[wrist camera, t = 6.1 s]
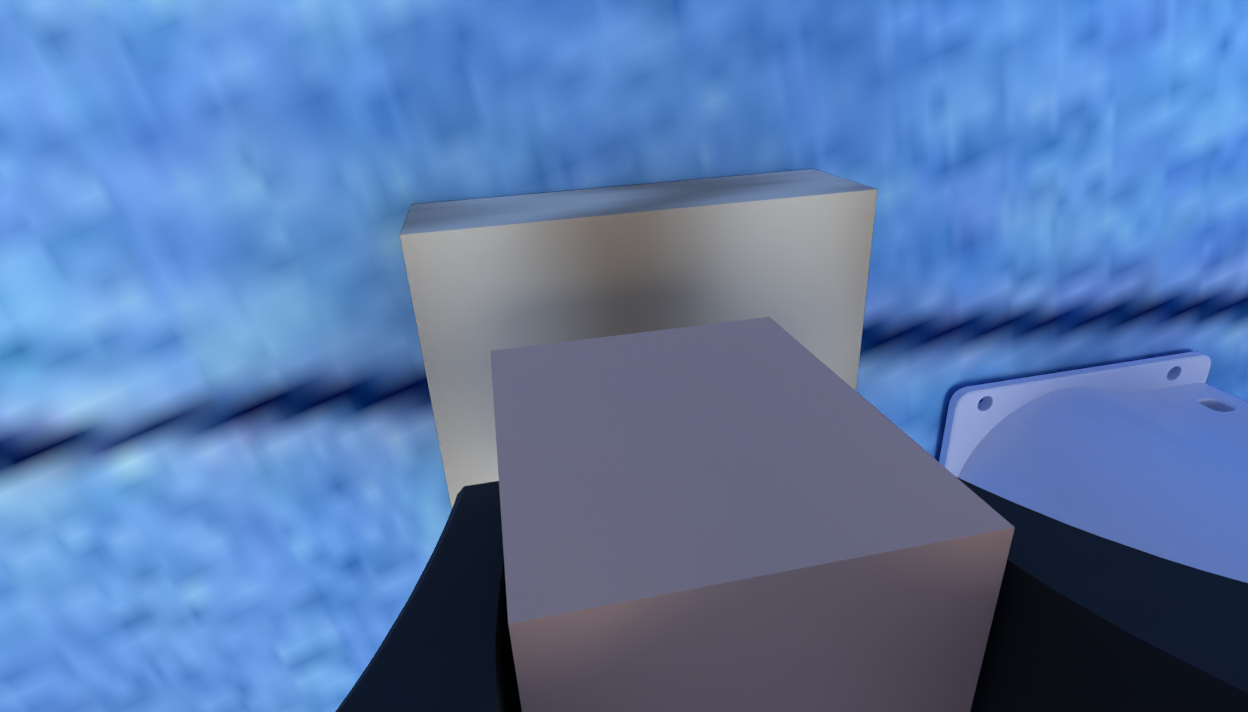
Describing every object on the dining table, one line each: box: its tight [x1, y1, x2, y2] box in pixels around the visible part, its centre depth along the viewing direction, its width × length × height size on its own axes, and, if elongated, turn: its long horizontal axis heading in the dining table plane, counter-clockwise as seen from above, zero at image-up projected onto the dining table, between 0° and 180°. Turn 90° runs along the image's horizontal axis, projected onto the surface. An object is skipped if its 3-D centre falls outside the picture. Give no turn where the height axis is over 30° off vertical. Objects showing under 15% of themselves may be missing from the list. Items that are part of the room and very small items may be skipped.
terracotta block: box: [490, 317, 1015, 712], centre depth 9 cm, size 4×4×6 cm
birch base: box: [400, 169, 878, 508], centre depth 17 cm, size 10×10×3 cm
